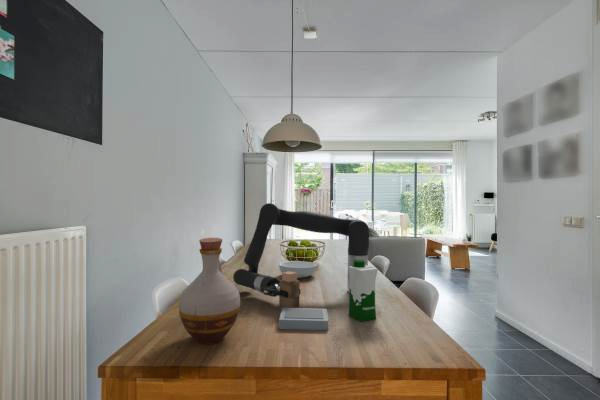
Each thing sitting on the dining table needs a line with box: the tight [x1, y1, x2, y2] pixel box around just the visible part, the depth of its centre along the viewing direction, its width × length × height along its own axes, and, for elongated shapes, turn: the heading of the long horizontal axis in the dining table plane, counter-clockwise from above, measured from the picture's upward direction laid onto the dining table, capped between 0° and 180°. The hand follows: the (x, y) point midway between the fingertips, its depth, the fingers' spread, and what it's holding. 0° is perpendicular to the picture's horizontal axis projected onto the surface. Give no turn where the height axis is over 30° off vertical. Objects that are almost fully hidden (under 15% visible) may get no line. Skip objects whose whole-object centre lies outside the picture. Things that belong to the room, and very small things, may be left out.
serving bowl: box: [278, 260, 318, 279], centre depth 183 cm, size 21×21×7 cm
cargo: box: [281, 271, 298, 282], centre depth 127 cm, size 4×4×3 cm
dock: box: [278, 307, 329, 331], centre depth 112 cm, size 16×12×3 cm
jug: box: [178, 237, 241, 345], centre depth 99 cm, size 20×18×30 cm
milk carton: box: [347, 260, 378, 322], centre depth 119 cm, size 9×9×20 cm
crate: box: [278, 279, 301, 311], centre depth 127 cm, size 6×6×11 cm
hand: (293, 293), depth 125 cm, fingers closed on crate, 5 cm apart
